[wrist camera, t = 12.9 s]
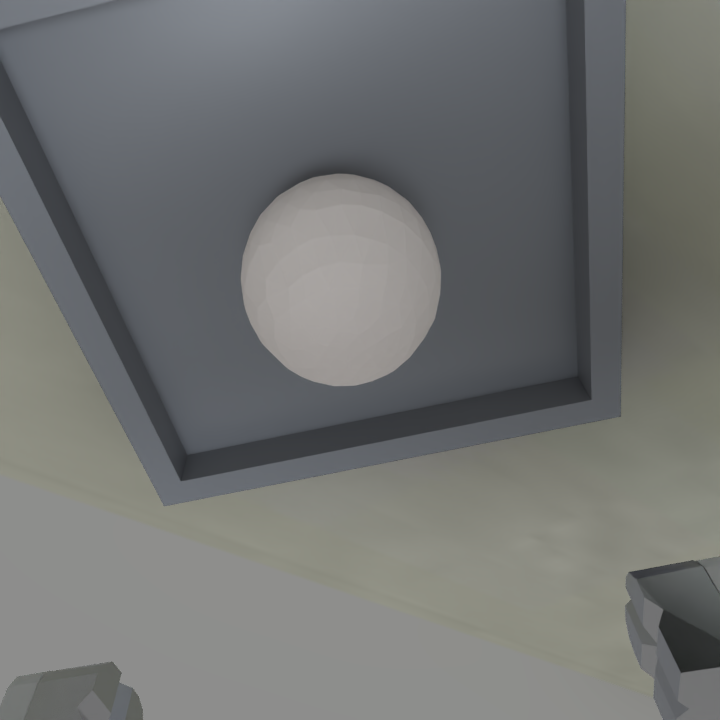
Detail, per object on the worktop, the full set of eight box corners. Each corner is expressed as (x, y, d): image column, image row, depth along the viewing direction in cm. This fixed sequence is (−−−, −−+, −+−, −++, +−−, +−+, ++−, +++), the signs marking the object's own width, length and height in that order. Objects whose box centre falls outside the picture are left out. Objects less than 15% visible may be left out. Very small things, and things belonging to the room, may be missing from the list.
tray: (593, -172, 19) (628, -185, 17) (599, 382, 30) (620, 416, 28) (-60, -7, 20) (-103, 1, 18) (174, 467, 31) (164, 506, 29)
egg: (260, 131, 22) (238, 216, 16) (442, 164, 23) (494, 257, 17) (242, 297, 26) (217, 426, 19) (402, 320, 27) (431, 449, 20)
